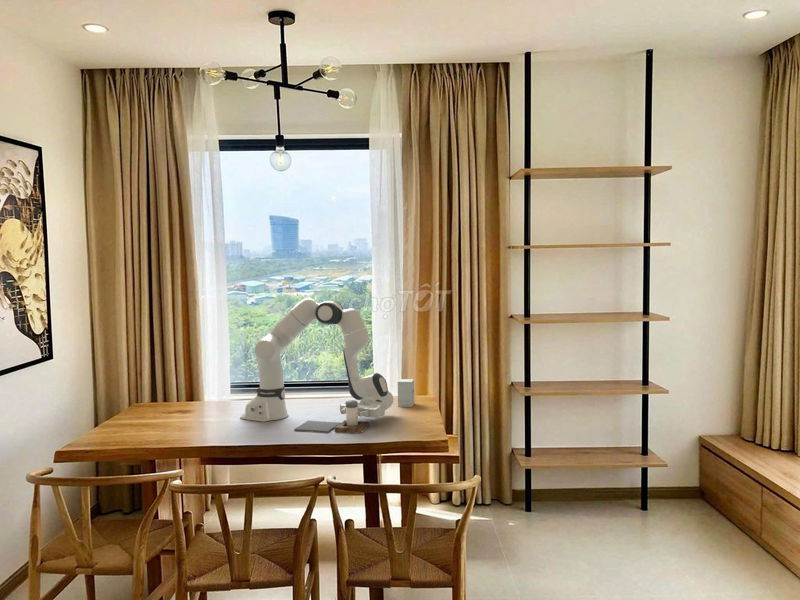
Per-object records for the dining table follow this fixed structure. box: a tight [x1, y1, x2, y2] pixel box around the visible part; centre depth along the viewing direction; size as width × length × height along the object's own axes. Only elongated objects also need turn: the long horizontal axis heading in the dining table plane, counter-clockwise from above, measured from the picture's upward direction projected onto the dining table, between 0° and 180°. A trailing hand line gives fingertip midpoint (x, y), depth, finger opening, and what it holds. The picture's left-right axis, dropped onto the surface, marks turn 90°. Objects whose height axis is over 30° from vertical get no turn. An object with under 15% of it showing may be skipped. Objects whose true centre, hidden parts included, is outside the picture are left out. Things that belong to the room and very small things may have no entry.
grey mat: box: [293, 420, 341, 434], centre depth 279 cm, size 16×14×1 cm
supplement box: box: [397, 378, 415, 408], centre depth 316 cm, size 7×7×13 cm
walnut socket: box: [334, 419, 370, 434], centre depth 275 cm, size 12×12×2 cm
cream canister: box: [345, 399, 359, 427], centre depth 275 cm, size 5×5×12 cm
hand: (350, 413), depth 274 cm, fingers open, 8 cm apart
